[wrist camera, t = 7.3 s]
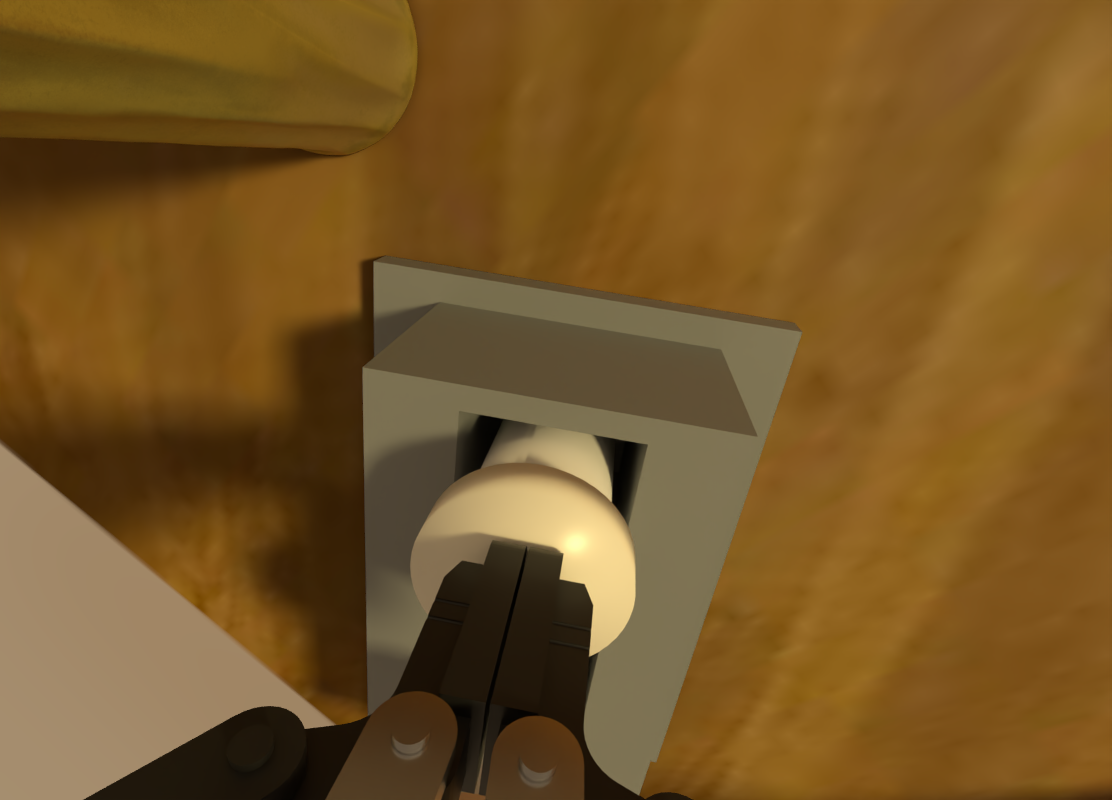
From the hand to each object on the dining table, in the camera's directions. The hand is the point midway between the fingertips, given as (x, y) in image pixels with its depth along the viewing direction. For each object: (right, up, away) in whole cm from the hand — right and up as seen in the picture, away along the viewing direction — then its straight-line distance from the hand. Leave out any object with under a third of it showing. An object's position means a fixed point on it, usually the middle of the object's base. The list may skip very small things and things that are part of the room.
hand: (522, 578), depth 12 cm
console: (0, -2, +12) cm, 12 cm away
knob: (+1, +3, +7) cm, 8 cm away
